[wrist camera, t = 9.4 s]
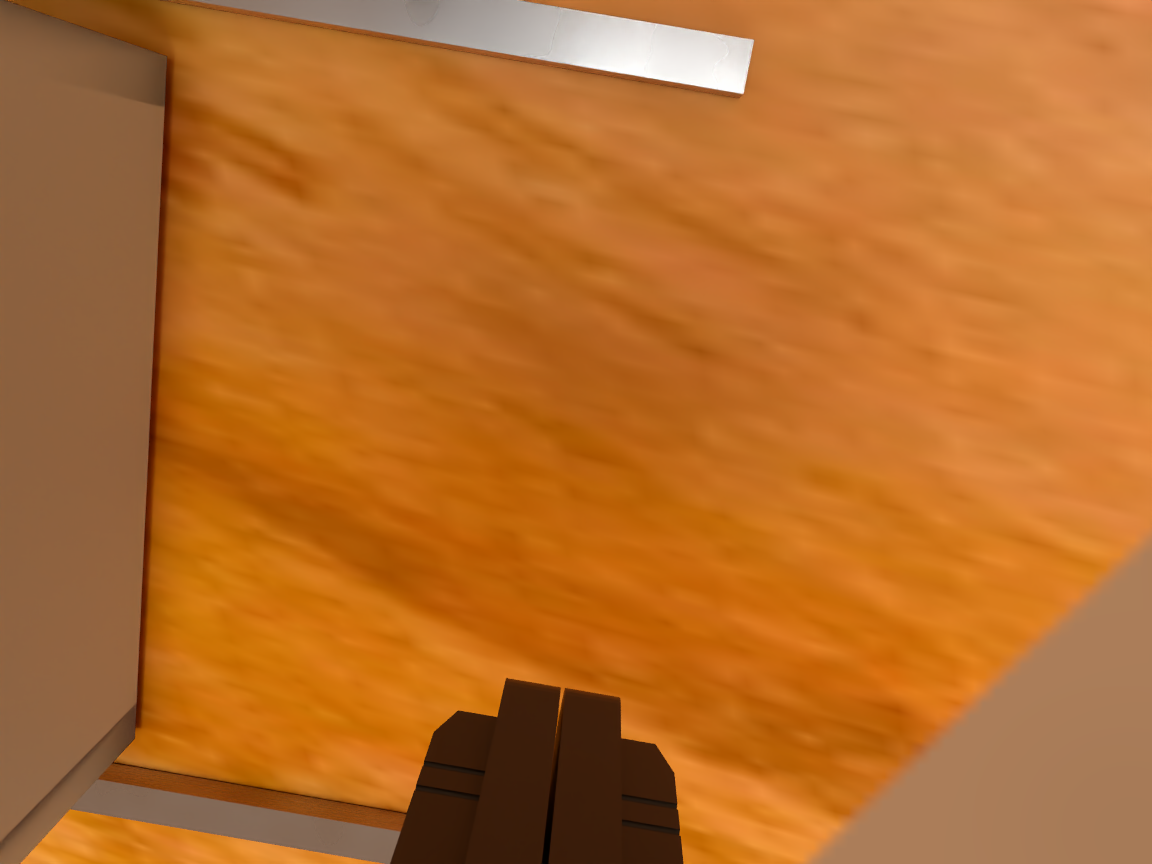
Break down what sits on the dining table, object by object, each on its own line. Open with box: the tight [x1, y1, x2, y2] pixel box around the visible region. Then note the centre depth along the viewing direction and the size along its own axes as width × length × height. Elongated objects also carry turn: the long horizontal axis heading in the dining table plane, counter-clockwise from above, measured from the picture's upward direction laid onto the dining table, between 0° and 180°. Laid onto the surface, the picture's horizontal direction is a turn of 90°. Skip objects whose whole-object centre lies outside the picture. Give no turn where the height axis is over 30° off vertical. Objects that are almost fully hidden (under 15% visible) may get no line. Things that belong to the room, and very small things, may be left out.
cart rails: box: [70, 0, 754, 864], centre depth 24 cm, size 24×30×1 cm
